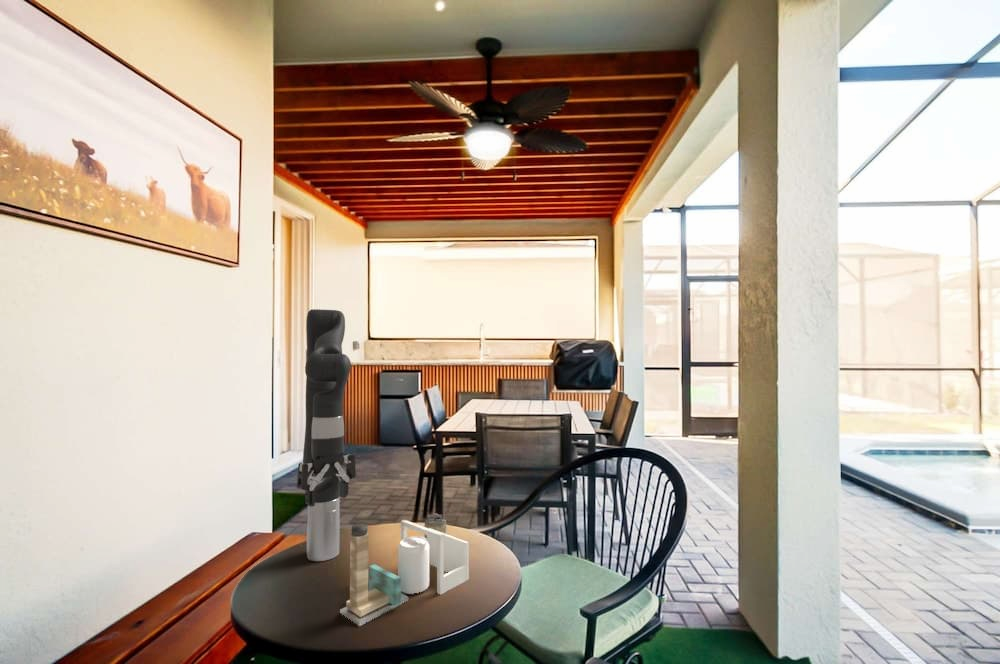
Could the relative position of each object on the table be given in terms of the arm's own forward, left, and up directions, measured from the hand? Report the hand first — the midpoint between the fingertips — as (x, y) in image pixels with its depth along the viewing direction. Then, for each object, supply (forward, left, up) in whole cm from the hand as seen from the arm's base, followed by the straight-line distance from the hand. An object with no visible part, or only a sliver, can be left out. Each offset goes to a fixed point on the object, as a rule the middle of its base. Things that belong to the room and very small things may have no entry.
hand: (327, 501), depth 114 cm
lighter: (-6, +41, -26) cm, 49 cm away
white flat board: (+9, +8, -26) cm, 28 cm away
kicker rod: (+9, +7, -24) cm, 27 cm away
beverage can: (+9, +20, -26) cm, 34 cm away
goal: (+9, +27, -26) cm, 38 cm away
